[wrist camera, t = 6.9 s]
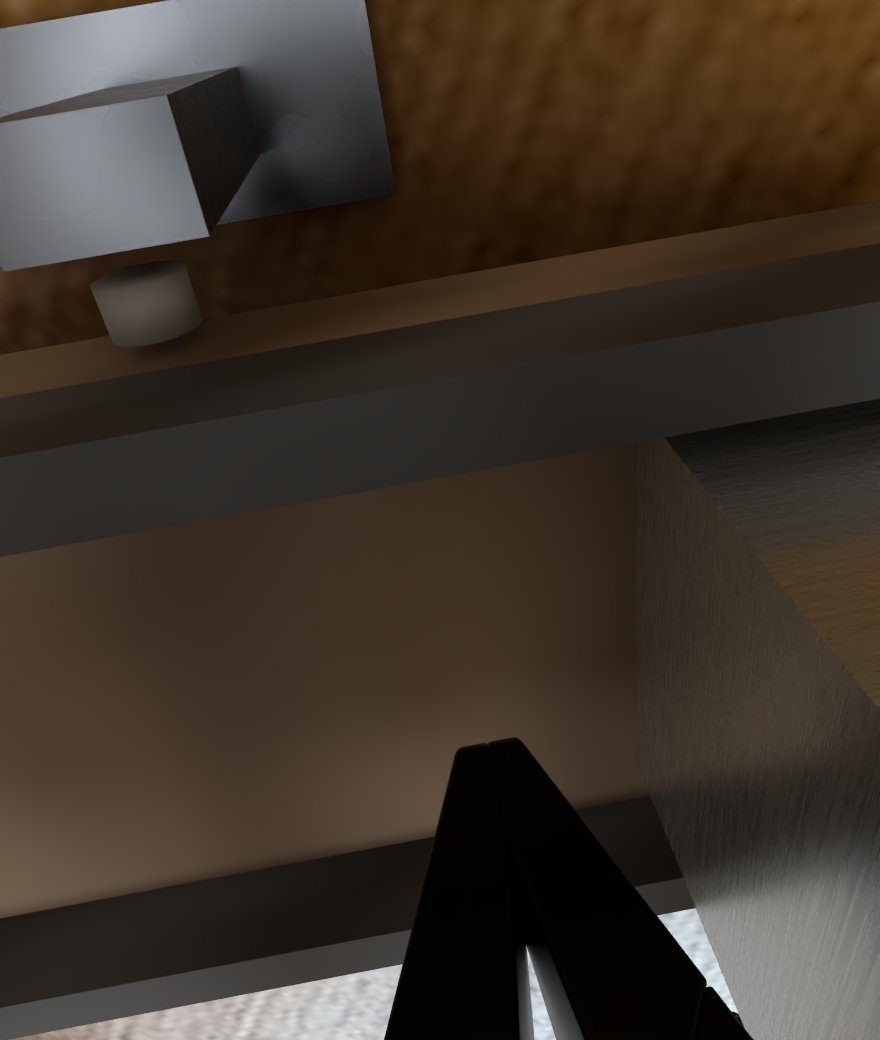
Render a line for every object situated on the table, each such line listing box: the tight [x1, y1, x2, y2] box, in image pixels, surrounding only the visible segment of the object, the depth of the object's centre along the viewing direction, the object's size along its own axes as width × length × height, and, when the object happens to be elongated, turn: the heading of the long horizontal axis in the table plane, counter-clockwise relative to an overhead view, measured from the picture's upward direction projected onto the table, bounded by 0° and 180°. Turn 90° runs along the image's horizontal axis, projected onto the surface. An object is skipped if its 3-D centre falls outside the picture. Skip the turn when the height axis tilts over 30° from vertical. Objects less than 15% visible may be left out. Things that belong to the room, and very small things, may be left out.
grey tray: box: [0, 201, 880, 1040], centre depth 12 cm, size 24×12×6 cm, turn 98°
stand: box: [0, 0, 396, 272], centre depth 13 cm, size 6×17×6 cm, turn 8°
